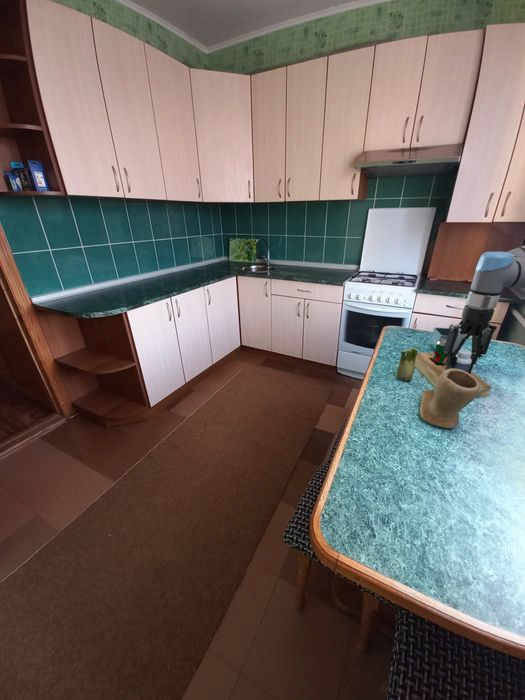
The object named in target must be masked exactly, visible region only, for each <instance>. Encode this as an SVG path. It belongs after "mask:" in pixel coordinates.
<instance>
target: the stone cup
mask: <svg viewBox="0 0 525 700" xmlns="http://www.w3.org/2000/svg"><path fill="white" fill-rule="evenodd" d="M479 390H480V384H479V382H478V381H477V379H476V378H475V377H473V376H472V375H471V374H469V373H467V372H465V371H463V370H460V369H447V370H445V371H443V372H442V374H441V375H440V377H439V379H438V381H437V383H436V386H435V387H434V389H425V390H423V392H422V395H421V400H420V407H419V413H420V418H421V419H422V420H424V421H425V422H427V423H428V424H431V425H433V426H436V427H438V428H444V429H455V428H456V427H457V426H458V424H459V420H460V412H461V411H462V410H463V409H464V408H465V407H467V406H468V405H469V404H470V403H472V402H473V401H474V400H475V399H476V398H477V397H476V395H477V394H478V392H479Z"/></svg>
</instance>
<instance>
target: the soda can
mask: <svg viewBox="0 0 525 700" xmlns="http://www.w3.org/2000/svg"><path fill="white" fill-rule="evenodd" d="M446 340H447V339H439V341H438V342H437V344H436V347H435V348H434V351H433V353H434V354H433V358H432V362H433V363H434V364H436V365H447V364H446V361H447V357H448V355H446V354H445V353H444V352H443V349H444V346H445V343H446Z"/></svg>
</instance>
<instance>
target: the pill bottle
mask: <svg viewBox="0 0 525 700" xmlns="http://www.w3.org/2000/svg"><path fill="white" fill-rule="evenodd" d="M471 354H472V351H471V350H468V349H466V348H461V349H460V350H459V352H458V353H457V355H456V357H457V358H458V359H457V362H456V365H455V368H454V369H460V370H463V371H465V372H467V373H468V371H469V368H470V365H471V362H472V360H471V358H470V357H471Z"/></svg>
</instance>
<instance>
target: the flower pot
mask: <svg viewBox="0 0 525 700" xmlns="http://www.w3.org/2000/svg"><path fill="white" fill-rule="evenodd" d="M458 333H459V332H458ZM448 334H449V327H433V332H432V344H433V347H434V349H435V347H436V344H437V342H438V341H439V339H447V337H448ZM457 337H458V336H457Z"/></svg>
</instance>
